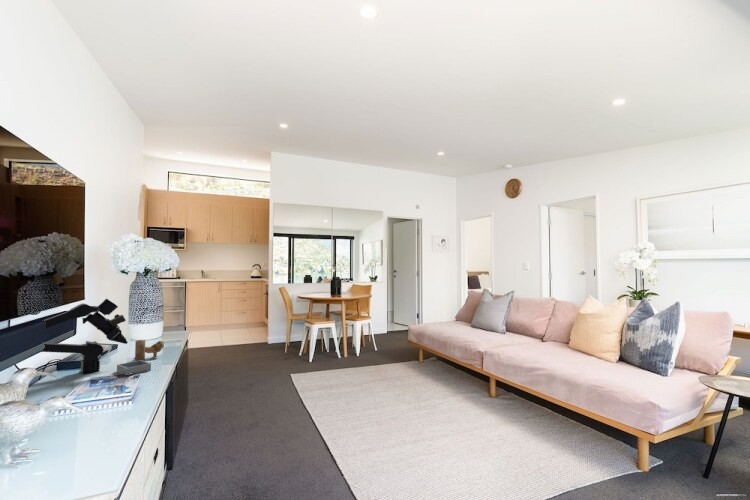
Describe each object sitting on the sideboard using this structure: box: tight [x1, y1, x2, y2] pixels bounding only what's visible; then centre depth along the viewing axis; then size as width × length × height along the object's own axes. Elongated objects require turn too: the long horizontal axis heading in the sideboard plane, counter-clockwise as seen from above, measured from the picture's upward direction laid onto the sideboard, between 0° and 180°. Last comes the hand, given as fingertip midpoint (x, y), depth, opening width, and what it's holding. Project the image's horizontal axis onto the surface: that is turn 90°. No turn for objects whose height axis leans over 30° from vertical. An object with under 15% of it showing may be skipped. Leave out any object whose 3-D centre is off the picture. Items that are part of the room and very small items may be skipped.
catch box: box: [116, 360, 152, 375], centre depth 178 cm, size 11×11×4 cm
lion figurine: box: [133, 340, 165, 360], centre depth 203 cm, size 15×5×9 cm, turn 130°
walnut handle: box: [134, 339, 146, 362], centre depth 190 cm, size 5×5×12 cm
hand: (126, 341), depth 186 cm, fingers open, 9 cm apart
